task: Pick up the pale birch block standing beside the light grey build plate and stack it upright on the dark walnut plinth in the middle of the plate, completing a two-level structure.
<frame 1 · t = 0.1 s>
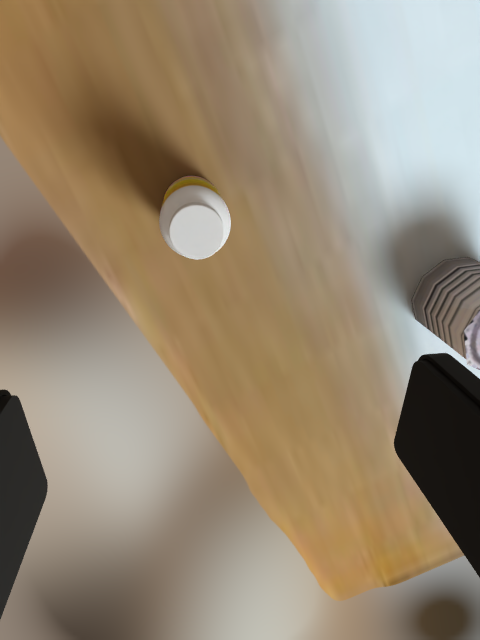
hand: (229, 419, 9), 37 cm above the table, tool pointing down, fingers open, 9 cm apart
can: (447, 293, 53), on the table
supplement bottle: (192, 205, 43), on the table
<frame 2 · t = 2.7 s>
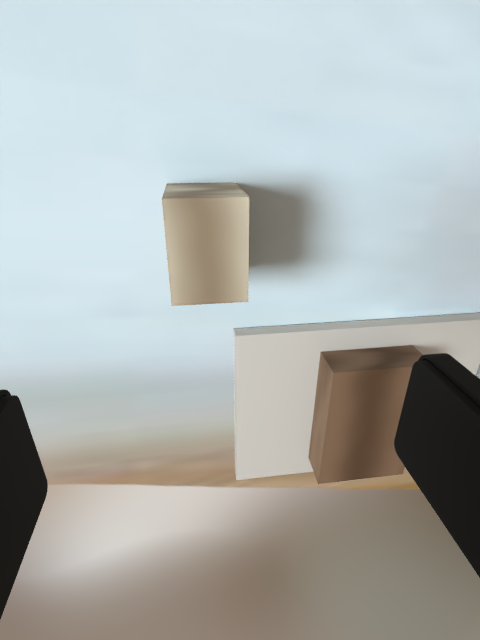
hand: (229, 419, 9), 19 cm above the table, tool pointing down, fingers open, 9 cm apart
plinth: (363, 416, 32), on the build plate, point 3 cm above the table
birch block: (203, 228, 26), on the table
build plate: (351, 396, 34), on the table
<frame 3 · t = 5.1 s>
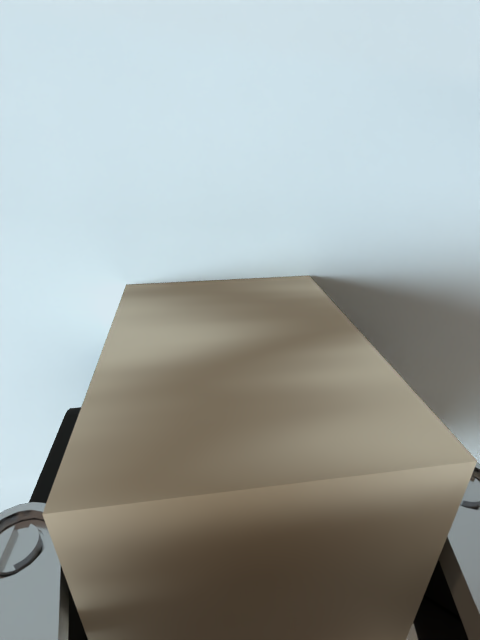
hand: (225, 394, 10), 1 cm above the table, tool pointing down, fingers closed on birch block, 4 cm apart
birch block: (223, 380, 10), on the table, touching gripper
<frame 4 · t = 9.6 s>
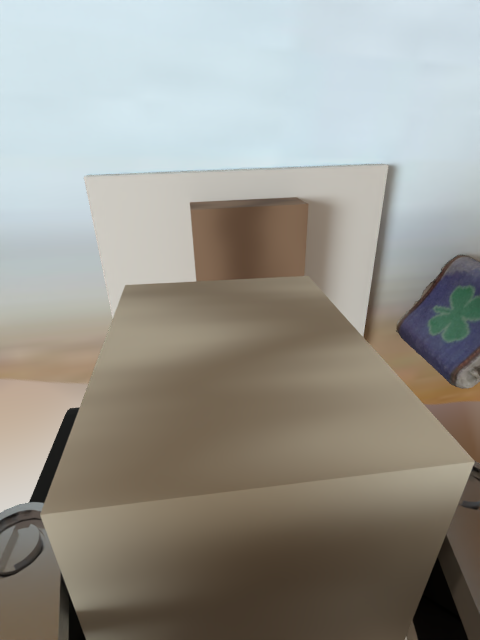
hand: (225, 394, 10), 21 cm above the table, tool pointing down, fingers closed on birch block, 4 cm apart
flask: (430, 297, 35), on the table
plinth: (248, 282, 29), on the build plate, point 3 cm above the table
birch block: (222, 380, 10), point 21 cm above the table, touching gripper
build plate: (243, 271, 31), on the table
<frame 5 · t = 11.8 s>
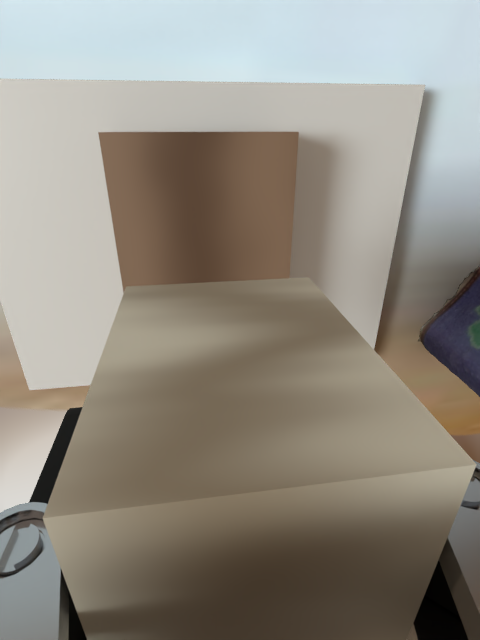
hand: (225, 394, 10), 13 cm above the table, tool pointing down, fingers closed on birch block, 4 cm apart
flask: (467, 293, 25), on the table
plinth: (206, 263, 19), on the build plate, point 3 cm above the table
birch block: (223, 381, 10), point 12 cm above the table, touching gripper
build plate: (203, 248, 21), on the table
when the fingers open (6 cm above the table, at t = 13.8 s): birch block drops 1 cm, resting on plinth.
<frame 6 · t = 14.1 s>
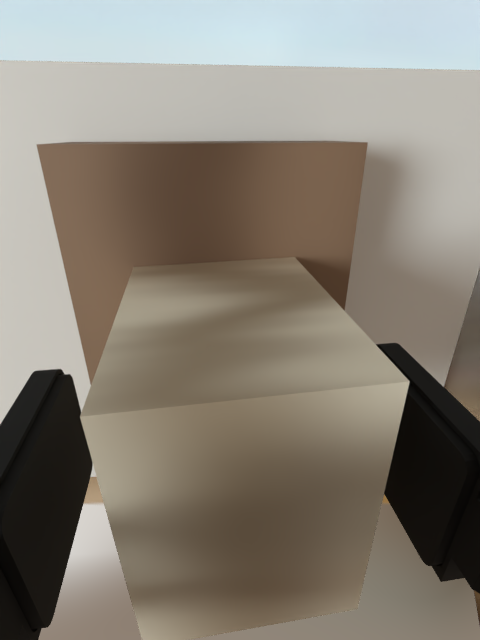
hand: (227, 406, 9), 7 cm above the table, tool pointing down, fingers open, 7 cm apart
plinth: (214, 331, 13), on the build plate, point 3 cm above the table
birch block: (220, 353, 12), point 4 cm above the table, touching plinth
build plate: (209, 301, 15), on the table
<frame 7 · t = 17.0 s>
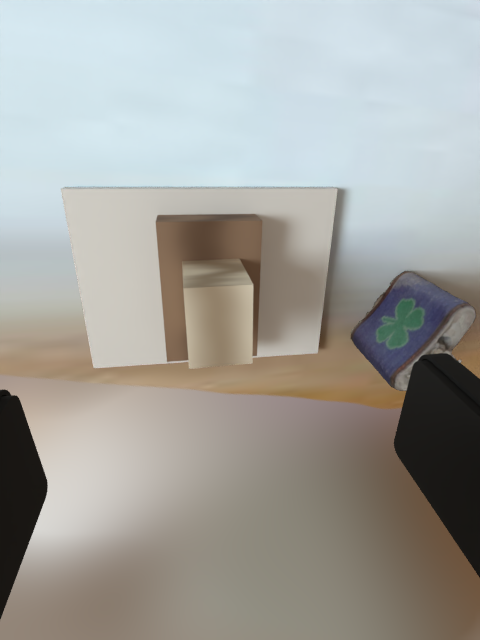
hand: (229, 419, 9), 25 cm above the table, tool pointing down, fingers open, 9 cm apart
flask: (381, 308, 39), on the table
plinth: (210, 289, 32), on the build plate, point 3 cm above the table
birch block: (212, 295, 30), point 4 cm above the table, touching plinth
build plate: (207, 279, 34), on the table
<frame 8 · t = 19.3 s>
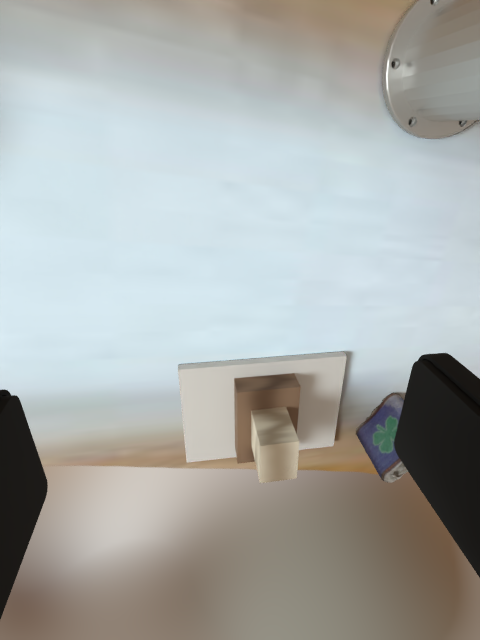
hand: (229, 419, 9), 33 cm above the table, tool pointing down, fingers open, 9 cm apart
flask: (376, 414, 56), on the table
plinth: (265, 419, 50), on the build plate, point 3 cm above the table
birch block: (268, 426, 48), point 4 cm above the table, touching plinth
build plate: (261, 405, 52), on the table
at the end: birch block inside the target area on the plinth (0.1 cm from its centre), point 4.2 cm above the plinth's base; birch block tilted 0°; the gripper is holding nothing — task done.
